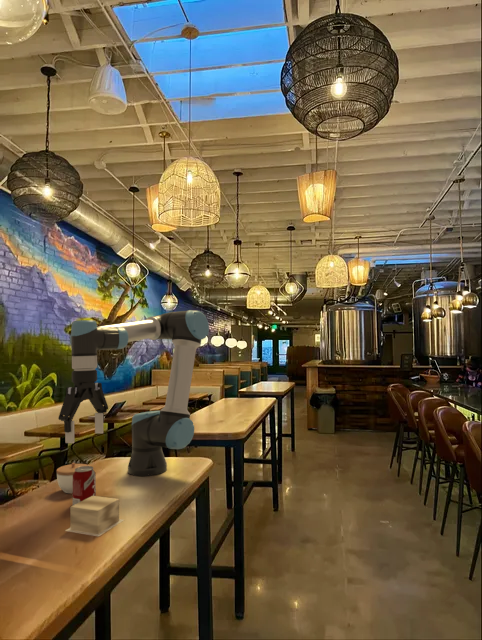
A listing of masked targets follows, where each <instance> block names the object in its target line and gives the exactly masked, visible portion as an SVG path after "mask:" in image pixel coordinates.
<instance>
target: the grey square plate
mask: <svg viewBox="0 0 482 640" xmlns="http://www.w3.org/2000/svg"><path fill="white" fill-rule="evenodd" d="M123 521H125V519H121V518H119V521H118V522H117V523H115V524H113V525H112V526H110V527H109V528H107V529H105V530H104V531H102V532H101V533H99V534H94V533H88V532H82V531H76V530H70V527H69V528H67V529H65V530H64V531H65V532H70V533H76V534H80V535H81V534H82V535H87V536H93V537H100V536H102V535H103V534H105V533H107V532H108V531H110V530H111V529H113V528H115V527H116V526H118V525H119V524H120V523H122V522H123Z"/></svg>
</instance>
